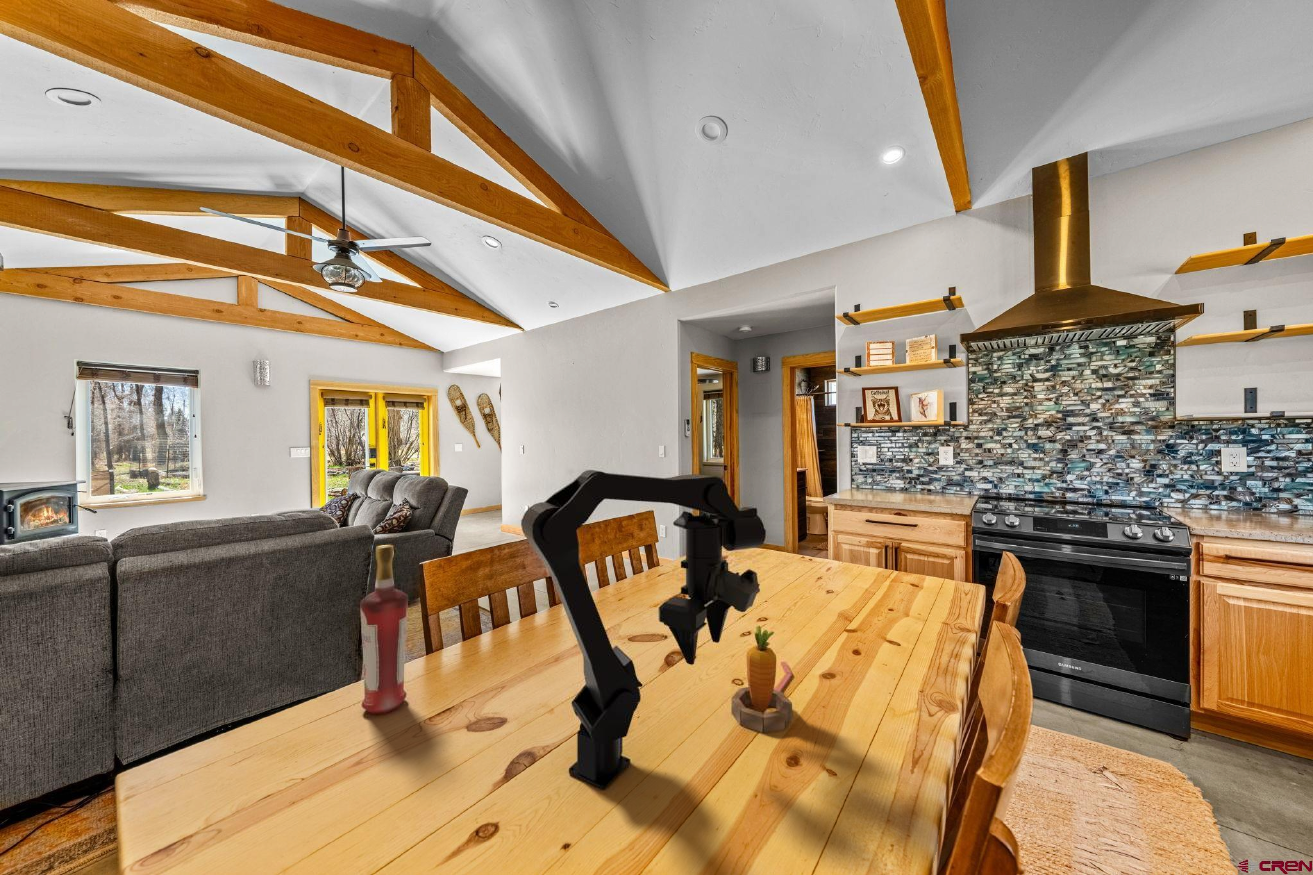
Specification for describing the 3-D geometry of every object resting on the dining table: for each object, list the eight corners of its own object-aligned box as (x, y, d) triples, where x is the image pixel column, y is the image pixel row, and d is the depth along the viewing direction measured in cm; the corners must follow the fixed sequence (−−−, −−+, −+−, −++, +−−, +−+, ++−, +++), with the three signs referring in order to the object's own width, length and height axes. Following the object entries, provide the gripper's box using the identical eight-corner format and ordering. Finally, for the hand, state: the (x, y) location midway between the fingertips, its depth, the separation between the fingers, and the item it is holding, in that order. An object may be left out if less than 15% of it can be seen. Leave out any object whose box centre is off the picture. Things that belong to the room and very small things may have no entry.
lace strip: (772, 703, 87) (772, 701, 87) (754, 698, 88) (754, 695, 88) (798, 667, 100) (798, 664, 100) (781, 663, 102) (781, 660, 102)
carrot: (747, 705, 86) (749, 619, 86) (776, 710, 84) (778, 624, 84) (743, 720, 81) (744, 630, 81) (773, 726, 80) (775, 634, 80)
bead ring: (780, 738, 77) (780, 722, 77) (724, 720, 81) (724, 705, 81) (796, 710, 85) (796, 695, 85) (745, 695, 89) (745, 681, 89)
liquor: (356, 705, 86) (356, 545, 86) (402, 691, 91) (402, 540, 91) (364, 724, 80) (364, 553, 80) (412, 708, 85) (413, 547, 85)
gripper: (727, 575, 65) (727, 692, 65) (772, 548, 81) (772, 642, 81) (656, 564, 71) (656, 671, 71) (711, 541, 87) (711, 628, 87)
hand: (703, 652), depth 78 cm, fingers open, 9 cm apart
